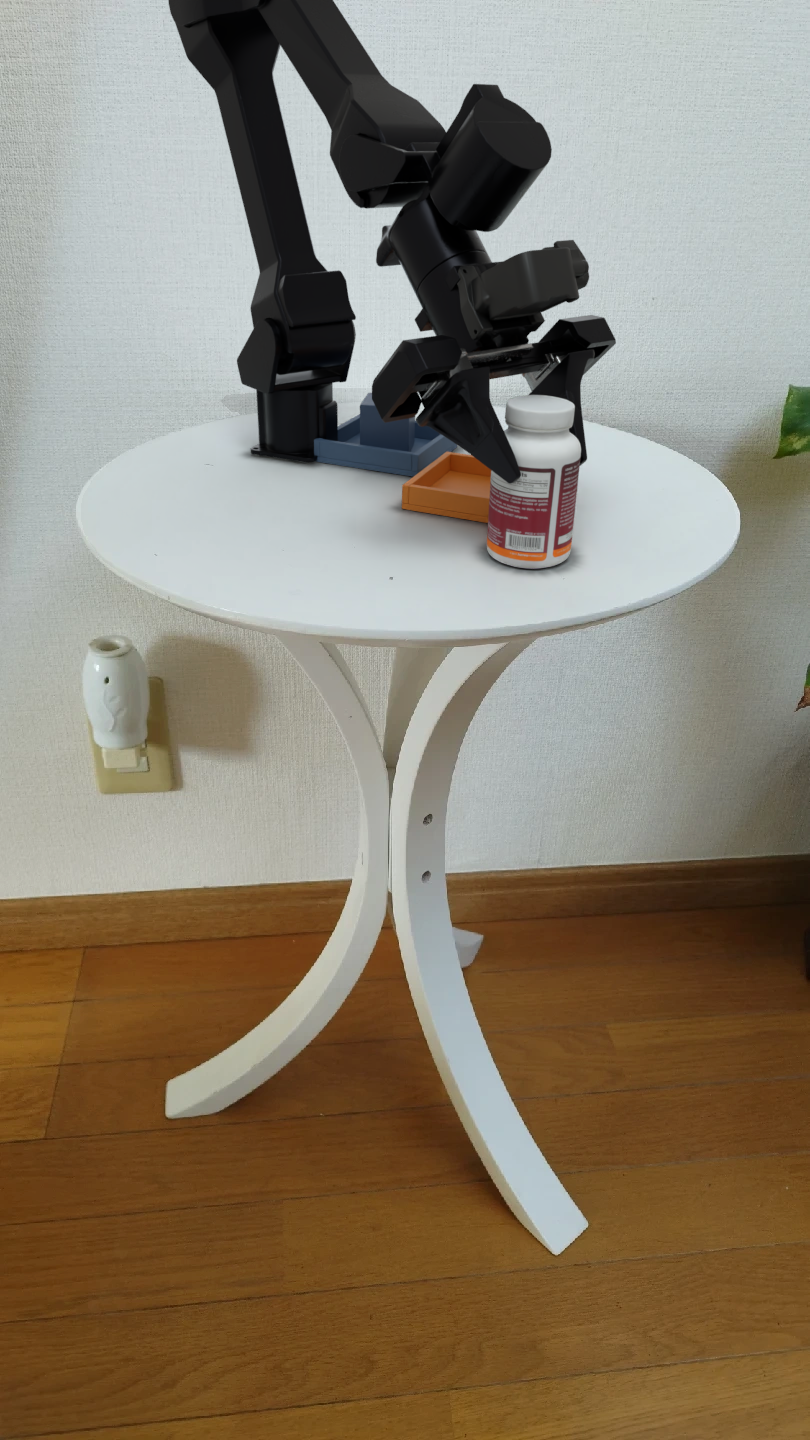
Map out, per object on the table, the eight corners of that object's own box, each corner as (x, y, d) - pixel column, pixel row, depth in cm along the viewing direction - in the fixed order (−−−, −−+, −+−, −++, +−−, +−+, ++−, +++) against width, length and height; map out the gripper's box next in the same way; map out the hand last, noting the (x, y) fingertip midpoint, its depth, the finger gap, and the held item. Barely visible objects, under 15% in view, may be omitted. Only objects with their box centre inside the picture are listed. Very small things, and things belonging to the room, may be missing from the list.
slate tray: (314, 461, 93) (313, 439, 92) (360, 433, 101) (360, 413, 100) (417, 477, 89) (418, 455, 88) (457, 447, 97) (458, 426, 96)
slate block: (359, 454, 93) (359, 404, 91) (367, 440, 97) (367, 392, 94) (408, 457, 93) (409, 407, 90) (414, 443, 96) (415, 395, 94)
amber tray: (401, 509, 82) (402, 484, 81) (445, 473, 91) (446, 451, 89) (521, 528, 79) (524, 504, 78) (556, 490, 87) (558, 467, 86)
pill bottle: (540, 534, 78) (555, 388, 73) (586, 563, 74) (606, 409, 68) (470, 546, 76) (479, 395, 70) (512, 576, 71) (526, 418, 65)
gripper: (401, 199, 60) (514, 429, 59) (613, 190, 70) (715, 387, 69) (327, 318, 69) (424, 520, 68) (524, 296, 79) (612, 471, 78)
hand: (549, 471), depth 70 cm, fingers closed on pill bottle, 6 cm apart
